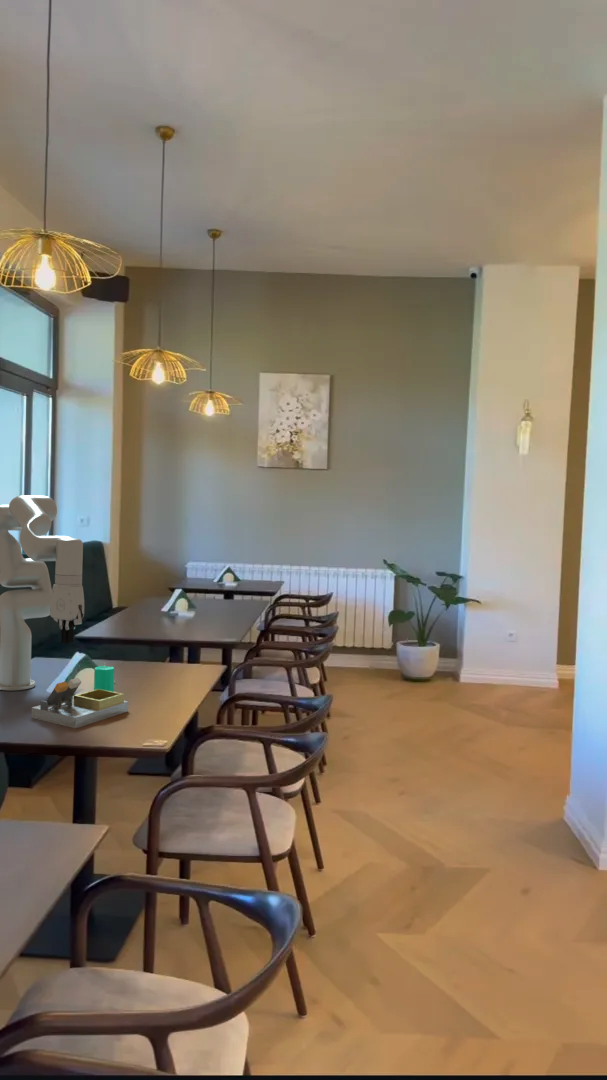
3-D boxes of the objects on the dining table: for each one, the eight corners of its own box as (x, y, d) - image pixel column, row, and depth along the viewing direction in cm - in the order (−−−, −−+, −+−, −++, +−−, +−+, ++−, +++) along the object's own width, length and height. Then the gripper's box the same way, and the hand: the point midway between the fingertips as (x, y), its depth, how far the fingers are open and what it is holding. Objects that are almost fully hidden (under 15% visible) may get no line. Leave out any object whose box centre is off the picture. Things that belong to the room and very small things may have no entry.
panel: (31, 717, 216) (32, 698, 215) (85, 702, 234) (86, 684, 234) (75, 728, 208) (75, 708, 207) (128, 711, 226) (128, 693, 226)
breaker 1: (43, 705, 215) (57, 683, 212) (51, 703, 217) (65, 681, 215) (46, 709, 214) (60, 687, 211) (55, 707, 217) (69, 685, 214)
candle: (108, 704, 232) (109, 665, 232) (90, 702, 234) (91, 664, 233) (116, 699, 238) (118, 661, 238) (99, 697, 239) (100, 660, 239)
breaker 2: (56, 701, 219) (70, 679, 216) (64, 699, 222) (78, 677, 219) (60, 705, 218) (73, 683, 216) (68, 703, 221) (81, 681, 218)
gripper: (40, 579, 223) (39, 640, 224) (76, 583, 216) (74, 648, 217) (61, 577, 230) (59, 637, 231) (96, 581, 222) (94, 644, 223)
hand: (67, 642), depth 224 cm, fingers closed
